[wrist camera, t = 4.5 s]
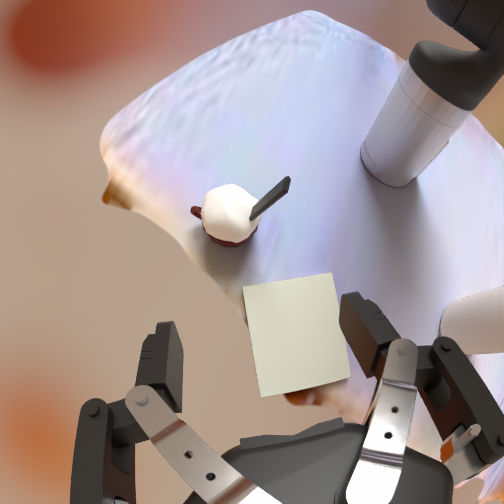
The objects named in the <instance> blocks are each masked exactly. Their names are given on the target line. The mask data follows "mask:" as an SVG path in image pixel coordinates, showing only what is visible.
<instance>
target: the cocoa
mask: <svg viewBox="0 0 504 504" xmlns="http://www.w3.org/2000/svg"><path fill="white" fill-rule="evenodd" d="M290 181H291V179H290V177H289V176H287V177H285V178H284V179H283V180H282V181H280V182H279V183H278V184H277V185H276V186H275V187H274V188H273V189H272V190H271V191H269V192H268V193H267V194H266V195H265V196H264V197H263V198H262V199H261V200H260V201H259V200H258V199H256V198H254V197H253V196H251V195H250V194H248V193H247V192H246V191H245V190H244V189H242V188H240V187H238V186H236V185H234V184H228V185H224V186H220V187H217V188H214V189H212V190H210V191H209V192H207V193H206V195H205V198H204V201H203V205H202V208H201V207H197V206H193V207H192V208H191V211H190V212H191V213H192V214H193V215H194V216H196V217H197V218H199V219H201V220H202V225H203V228H204V230H205V232H206V233H207V234H208V235H209V237H210V238H211V239H212V240H213V241H214V242H216V243H218V244H220V245H223V246H225V247H237V246H239V245H241V244H244V243H246V242H248V240H249V239H250V238H251V237H252V236H253V235H254V233H255V232H256V231H257V228H258V224H259V222H260V220H261V214H262V213H263V212H264V211H265V210H267V209H268V208H269V207H270V206H271V205H273V204H274V203H275V202H276V201H278V200H279V199H280V198H281V197H283V196H284V195H285V194H286V193H288V190H289V185H290ZM198 212H199V213H198ZM200 213H201V214H200Z"/></svg>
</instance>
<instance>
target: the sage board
mask: <svg viewBox="0 0 504 504" xmlns="http://www.w3.org/2000/svg"><path fill="white" fill-rule="evenodd" d="M242 289H243V296H244V302H245V308H246V314H247V321H248V327H249V333H250V339H251V345H252V351H253V357H254V363H255V369H256V375H257V381H258V386H259V392H260V397H261V398H262V397H267V396H273V395H278V394H283V393H288V392H293V391H298V390H302V389H307V388H311V387H315V386H319V385H323V384H327V383H331V382H335V381H339V380H342V379H346V378H349V377H351V374H350V367H349V361H348V354H347V348H346V342H345V337H344V335H343V333H342V331H341V329H340V326H339V313H340V310H339V305H338V300H337V295H336V290H335V285H334V281H333V276H332V272H331V273H325V274H319V275H314V276H308V277H302V278H296V279H290V280H283V281H277V282H271V283H264V284H258V285H251V286H245V287H242Z"/></svg>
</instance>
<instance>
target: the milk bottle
mask: <svg viewBox="0 0 504 504" xmlns="http://www.w3.org/2000/svg"><path fill="white" fill-rule="evenodd" d="M440 334H441V336H446V337H450V338H452V339H453V340H454V341H455V342H456V343H457V344H458V346H459V347H460V348H461V350H462V351H463V352H464V354H465V355H470V354H490V353H502V352H504V286H502V287H499V288H495V289H492V290H489V291H485V292H482V293H479V294H475V295H472V296H469V297H465V298H462V299H458V300H455V301H453V302H452V303H451V304H449V306H448V307H447V308H446V309H445V311H444V313H443V316H442V319H441V325H440Z"/></svg>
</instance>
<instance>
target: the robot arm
mask: <svg viewBox="0 0 504 504" xmlns="http://www.w3.org/2000/svg"><path fill="white" fill-rule="evenodd" d="M426 2H427V6H428V7H429V9H430V11H431V12H432V13H433V14H434V15H435V16H437V17H438V18H439V19H441V20H442V21H443V22H444V23H446V24H447V25H448V26H450V27H453V29H454V30H456V31H457V32H459V33H460V34H461V35H463V36H464V37H465V38H467V39H468V40H469V41H471V42H472V43H473V44H475V45H476V46H477V47H478V48H480V49H479V50H478V51H474V52H469V51H462V50H458V49H454V48H451V47H448V46H445V45H442V44H439V43H436V42H432V41H420V42H418V43H417V44H416V45H415V47H414V49H413V50H412V52H411V54H410V57H409V58H408V60H407V62H406V64H405V66H404V68H403V70H402V72H401V74H400V76H399V78H398V80H397V82H396V83H395V85H394V87H393V89H392V91H391V93H390V95H389V97H388V98H387V100H386V102H385V104H384V106H383V108H382V109H381V111H380V113H379V115H378V117H377V119H376V120H375V122H374V124H373V126H372V127H371V129H370V131H369V133H368V135H367V137H366V138H365V140H364V142H363V144H362V146H361V157H362V161H363V163H364V165H365V166H366V168H367V169H368V170H369V172H370V173H371V174H372V175H373V176H374V177H376V178H377V179H378V180H379V181H381V182H383V183H385V184H387V185H390V186H395V187H402V186H405V185H407V184H408V183H409V182H410V181H411V180H412V179H413V178H414V177H418V176H419V175H420V174H421V173H422V172H423V171H424V169H425V168H426V167H427V166H428V165H429V164H430V163H431V162H432V161H433V160H434V159H435V158H436V157H437V155H438V154H439V153H440V152H441V151H442V150H443V149H444V148H445V147H446V146H447V144H448V142H449V141H448V140H449V139H450V137H451V136H452V135H453V134H454V133H455V132H456V131H457V129H458V128H459V127H460V126H461V125H462V123H463V122H464V121H465V120H466V119H467V117H468V116H469V115H470V114H471V112H472V111H473V110H474V109H475V108H476V107H477V105H478V104H479V103H480V102H481V101H482V99H483V98H484V97H485V96H486V95H487V94H488V92H490V90H491V89H492V88H493V87H494V85H495V84H496V83H497V81H498V80H499V79H500V78H501V77H502V75H503V74H504V0H426ZM339 326H340V329H341V331H342V333H343V335H344V336H345V338H346V340H347V342H348V344H349V346H350V347H351V349H352V351H353V353H354V355H355V357H356V359H357V360H358V362H359V364H360V366H361V368H362V370H363V372H364V374H365V376H366V377H367V378H370V377H373V376H375V377H376V379H377V381H376V384H375V387H374V391H373V394H372V398H371V401H370V404H369V407H368V410H367V413H366V416H365V419H364V421H363V423H362V425H360V424H356V423H343V420H342V418H341V417H340V418H337V419H333V420H330V421H326V422H322V423H318V424H316V425H314V426H312V427H310V428H308V429H306V430H305V431H302V432H300V433H298V434H296V435H291V436H289V435H288V436H287V435H285V436H284V435H262V436H255V437H249V438H241V439H240V444H241V445H239V446H236V447H234V448H232V449H230V450H228V451H227V452H225V453H224V454H223V455H221V456H219V455H218V454H217V453H216V452H215V451H213V450H212V449H211V448H210V447H209V446H208V445H207V444H206V443H205V442H204V441H203V440H202V439H201V438H200V437H199V436H198V435H197V434H196V433H195V432H194V431H193V430H192V429H191V428H190V427H189V426H188V425H187V424H186V423H185V422H184V421H182V420H180V419H179V418H178V417H177V415H176V414H175V413H182V383H183V382H182V381H183V348H182V344H181V341H180V338H179V335H178V332H177V329H176V326H175V323H174V322H173V321H169V322H160V323H157V327H156V333H155V334H149V335H148V336H147V338H146V339H145V340H144V342H143V345H142V350H141V355H140V361H139V366H138V372H137V377H136V383H135V387H134V388H132V389H131V390H130V391H129V392H128V393H127V395H126V398H124V399H122V400H119V401H116V402H112V403H109V404H106V403H105V401H103V400H101V399H98V398H94V399H90V400H89V401H87V402H85V403H84V405H83V406H82V408H81V411H80V416H79V421H78V428H77V434H76V440H75V448H74V457H73V465H72V475H71V490H70V504H136V492H135V443H139V442H142V441H146V440H149V439H151V442H152V443H153V444H154V446H155V447H156V448H157V450H158V451H159V452H160V453H161V454H162V456H163V457H164V458H165V459H166V460H167V461H168V463H169V464H170V465H171V466H172V467H173V468H174V469H175V470H176V472H177V473H178V474H179V475H180V476H181V477H182V478H183V479H184V480H185V481H186V483H188V484H189V486H190V487H191V488H192V489H193V490H194V491H193V492H192V493H191V495H190V496H189V497H188V499H187V500H186V501H185V502H184V503H183V504H452V495H453V487H454V486H456V485H457V484H459V483H461V482H462V481H464V480H467V479H471V478H473V477H474V476H476V475H477V474H479V473H480V472H482V471H483V470H485V469H486V468H488V467H489V466H491V465H492V464H494V463H495V462H496V461H498V460H499V459H500V458H502V457H503V456H504V415H503V413H502V411H501V409H500V408H499V406H498V404H497V403H496V401H495V399H494V398H493V396H492V394H491V393H490V391H489V390H488V388H487V386H486V385H485V383H484V382H483V380H482V379H481V377H480V376H479V374H478V373H477V371H476V370H475V368H474V367H473V365H472V364H471V362H470V361H469V360H468V358H467V357H466V355H465V354H464V352H463V351H462V350H461V348H460V347H459V346H458V344H457V343H456V342H455V341H454V340H453V339H452V338H450V337H446V336H441V337H438V338H436V339H435V340H434V342H433V345H429V346H416V344H415V343H413V342H412V341H410V340H408V339H403V338H401V337H400V336H399V334H398V333H397V331H396V330H395V329H394V327H393V326H392V325H391V323H390V322H389V320H388V319H386V316H385V315H384V314H383V313H382V311H381V310H380V308H379V307H378V306H377V305H376V304H375V303H373V302H372V301H370V300H369V299H368V300H364V299H363V297H362V296H361V295H360V293H359V292H352V293H347V294H343V295H342V297H341V305H340V313H339ZM443 378H444V379H443ZM446 383H447V384H446ZM449 388H450V389H449ZM417 390H418V392H419V394H420V396H421V398H422V399H423V401H424V403H425V405H426V407H427V409H428V411H429V413H430V415H431V417H432V419H433V421H434V423H435V425H436V428H437V430H438V432H439V434H440V436H441V438H442V440H443V443H442V446H441V450H440V451H441V455H440V458H441V460H442V463H441V462H440V461H437V460H435V459H433V458H431V457H428V456H426V455H424V454H422V453H419V452H417V451H415V450H413V449H411V448H409V447H407V446H406V443H407V439H408V435H409V430H410V426H411V421H412V416H413V411H414V406H415V400H416V394H417Z"/></svg>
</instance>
